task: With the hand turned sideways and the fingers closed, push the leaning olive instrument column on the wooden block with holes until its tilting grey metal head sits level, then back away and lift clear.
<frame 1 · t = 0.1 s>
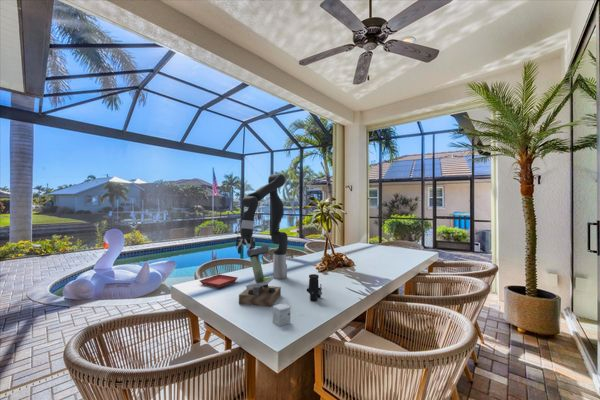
hand: (244, 254, 162), 22 cm above the table, tool pointing down, fingers open, 8 cm apart
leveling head: (259, 266, 148), point 18 cm above the table, hinge at 15.0°
plant saucer: (219, 284, 176), on the table
scope: (314, 299, 148), on the table
wooden block with holes: (260, 299, 147), on the table
skincare box: (281, 322, 119), on the table
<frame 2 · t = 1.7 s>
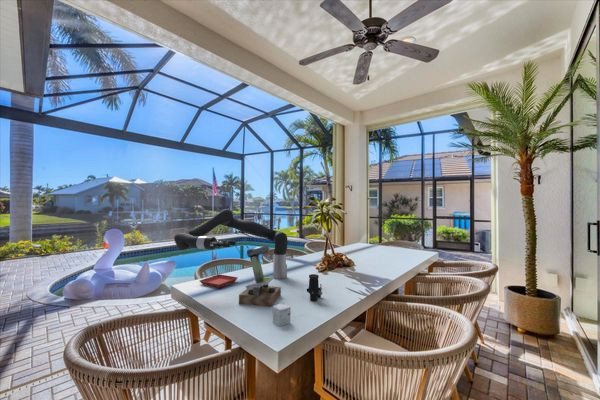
hand: (232, 244, 151), 30 cm above the table, tool horizontal, fingers open, 7 cm apart
nothing on the table moved.
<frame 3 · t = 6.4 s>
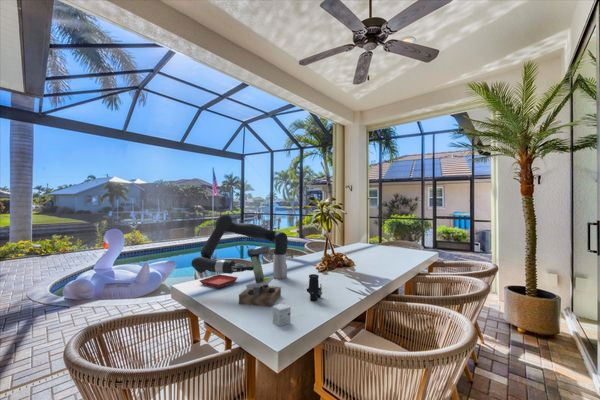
hand: (253, 268, 149), 17 cm above the table, tool horizontal, fingers closed
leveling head: (259, 266, 148), point 18 cm above the table, hinge at 14.1°, touching gripper
everything else where it was.
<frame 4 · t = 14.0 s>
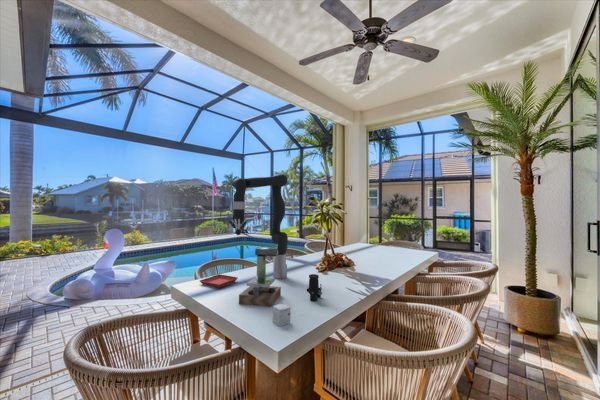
hand: (238, 234, 173), 33 cm above the table, tool pointing down, fingers closed
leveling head: (263, 267, 147), point 18 cm above the table, hinge at -0.3°
everything else where it was.
at the end: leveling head at +0° (first picture: +15°); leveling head tilted 0° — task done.
